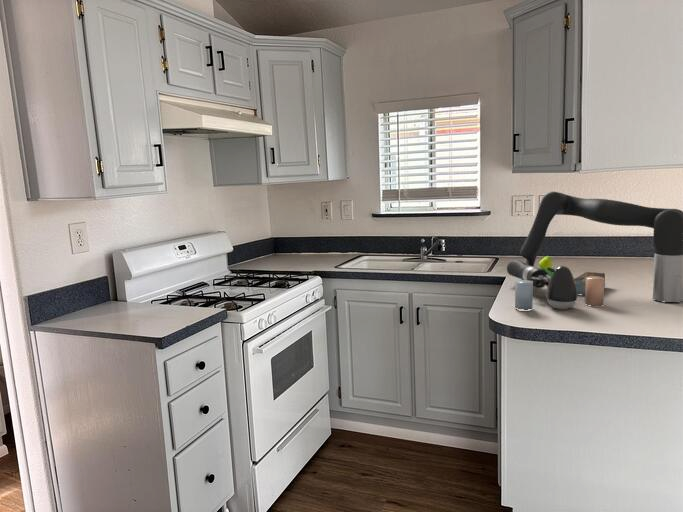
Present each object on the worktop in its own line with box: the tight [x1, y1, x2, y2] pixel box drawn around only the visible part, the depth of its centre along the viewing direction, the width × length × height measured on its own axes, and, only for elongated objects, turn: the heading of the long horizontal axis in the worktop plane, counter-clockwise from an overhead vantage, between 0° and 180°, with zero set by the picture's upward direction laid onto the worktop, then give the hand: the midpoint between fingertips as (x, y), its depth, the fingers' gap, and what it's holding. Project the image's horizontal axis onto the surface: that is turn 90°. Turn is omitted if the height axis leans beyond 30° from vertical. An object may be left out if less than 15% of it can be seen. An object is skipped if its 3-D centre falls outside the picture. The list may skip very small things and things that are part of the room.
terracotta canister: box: [584, 276, 605, 307], centre depth 188 cm, size 6×6×10 cm
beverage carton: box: [574, 271, 606, 296], centre depth 210 cm, size 8×19×7 cm, turn 137°
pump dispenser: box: [545, 265, 578, 310], centre depth 185 cm, size 10×10×15 cm
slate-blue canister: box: [514, 279, 534, 310], centre depth 187 cm, size 6×6×10 cm
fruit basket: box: [538, 255, 556, 276], centre depth 234 cm, size 11×9×11 cm
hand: (555, 285), depth 190 cm, fingers closed
